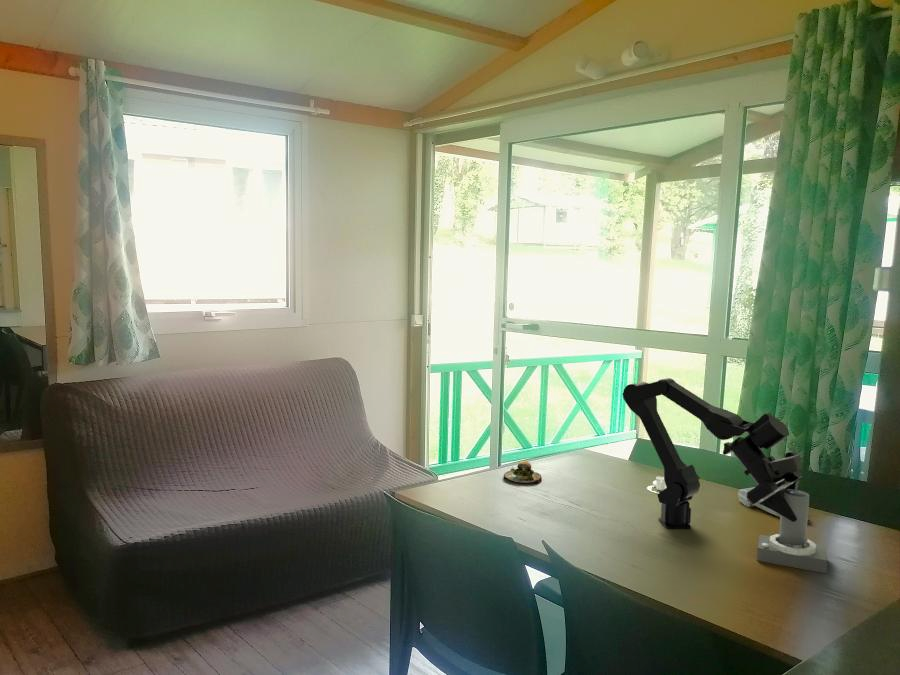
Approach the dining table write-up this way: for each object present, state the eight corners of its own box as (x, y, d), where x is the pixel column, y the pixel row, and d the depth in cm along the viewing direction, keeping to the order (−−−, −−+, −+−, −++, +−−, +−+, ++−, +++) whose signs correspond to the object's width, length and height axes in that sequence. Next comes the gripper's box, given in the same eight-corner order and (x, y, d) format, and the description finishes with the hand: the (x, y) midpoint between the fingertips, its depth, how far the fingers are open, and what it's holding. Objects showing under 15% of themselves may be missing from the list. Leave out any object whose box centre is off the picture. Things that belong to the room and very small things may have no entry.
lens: (780, 546, 155) (784, 494, 153) (777, 537, 160) (780, 487, 159) (809, 550, 153) (813, 498, 152) (804, 541, 158) (808, 490, 157)
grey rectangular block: (756, 560, 156) (757, 543, 155) (759, 546, 164) (760, 529, 164) (826, 574, 149) (827, 555, 149) (825, 558, 158) (826, 540, 157)
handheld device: (795, 527, 178) (796, 509, 177) (733, 503, 196) (734, 487, 196) (821, 521, 182) (822, 504, 181) (758, 498, 200) (758, 483, 200)
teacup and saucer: (653, 484, 212) (653, 471, 212) (678, 489, 208) (679, 476, 207) (643, 491, 205) (643, 478, 205) (669, 497, 201) (670, 483, 200)
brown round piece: (495, 479, 214) (496, 456, 214) (520, 472, 222) (521, 450, 222) (524, 489, 206) (525, 465, 205) (549, 481, 214) (550, 458, 213)
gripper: (764, 448, 151) (814, 509, 144) (796, 434, 163) (843, 491, 157) (727, 474, 157) (773, 534, 150) (760, 459, 170) (804, 514, 163)
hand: (800, 517), depth 155 cm, fingers closed on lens, 5 cm apart
